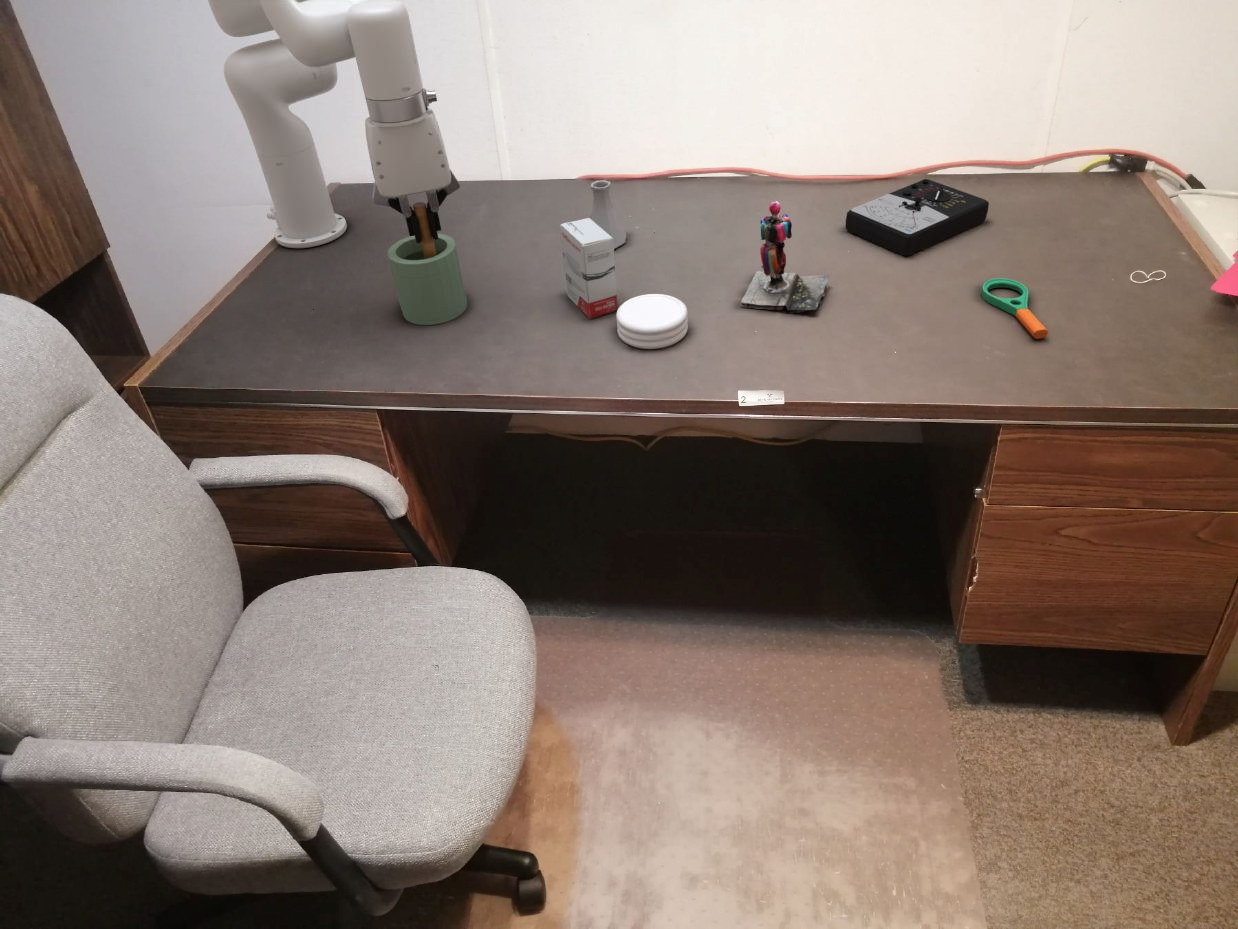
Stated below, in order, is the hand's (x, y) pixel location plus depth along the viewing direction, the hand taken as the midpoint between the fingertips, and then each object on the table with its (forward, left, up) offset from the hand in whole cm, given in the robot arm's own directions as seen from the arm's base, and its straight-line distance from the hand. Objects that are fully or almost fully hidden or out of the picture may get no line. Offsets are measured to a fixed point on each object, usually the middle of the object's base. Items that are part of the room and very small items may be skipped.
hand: (426, 236), depth 128 cm
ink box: (+21, +10, -12) cm, 26 cm away
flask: (+13, +29, -12) cm, 34 cm away
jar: (-1, 0, -12) cm, 12 cm away
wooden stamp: (0, 0, -11) cm, 11 cm away
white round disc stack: (+33, +6, -12) cm, 35 cm away
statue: (+47, +22, -12) cm, 53 cm away
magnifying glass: (+78, +29, -12) cm, 84 cm away
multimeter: (+58, +51, -12) cm, 79 cm away
